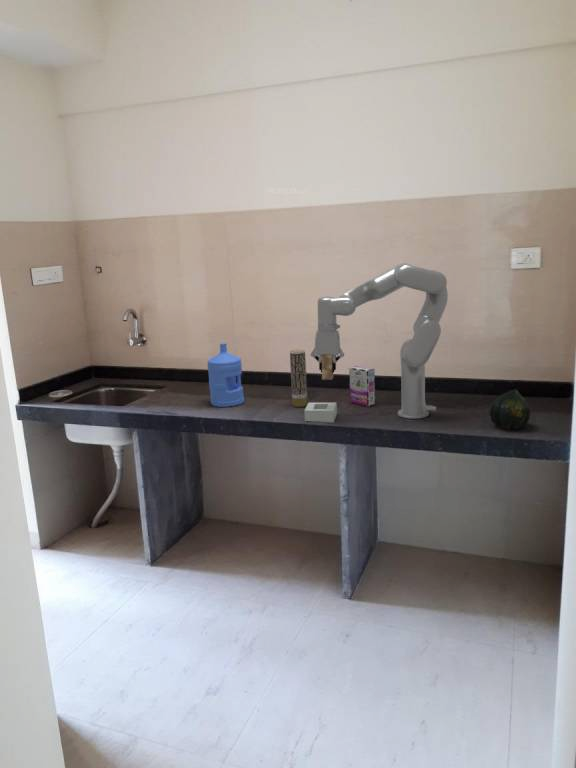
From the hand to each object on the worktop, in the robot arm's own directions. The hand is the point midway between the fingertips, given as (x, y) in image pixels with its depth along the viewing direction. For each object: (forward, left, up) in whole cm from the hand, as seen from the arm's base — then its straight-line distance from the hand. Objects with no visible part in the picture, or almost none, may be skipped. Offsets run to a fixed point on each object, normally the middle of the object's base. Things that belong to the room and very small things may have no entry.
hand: (327, 371), depth 261 cm
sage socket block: (+3, 0, -20) cm, 20 cm away
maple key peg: (0, 0, -3) cm, 3 cm away
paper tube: (+15, -19, -20) cm, 32 cm away
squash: (-71, +10, -20) cm, 74 cm away
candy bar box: (-13, -22, -20) cm, 33 cm away
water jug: (+50, -23, -20) cm, 59 cm away
